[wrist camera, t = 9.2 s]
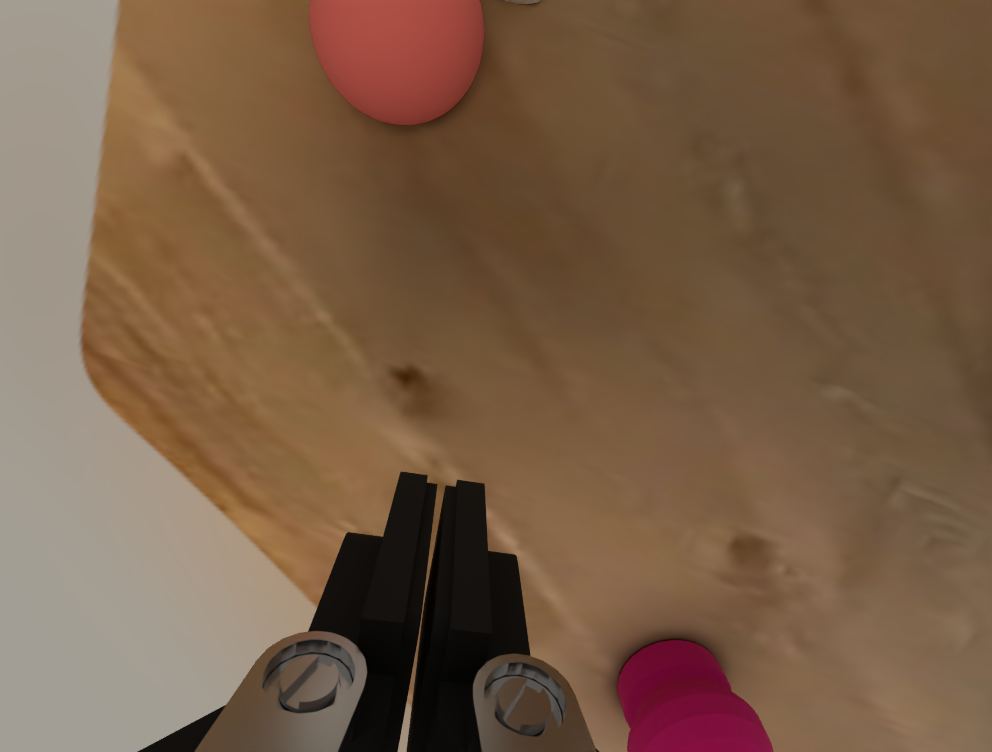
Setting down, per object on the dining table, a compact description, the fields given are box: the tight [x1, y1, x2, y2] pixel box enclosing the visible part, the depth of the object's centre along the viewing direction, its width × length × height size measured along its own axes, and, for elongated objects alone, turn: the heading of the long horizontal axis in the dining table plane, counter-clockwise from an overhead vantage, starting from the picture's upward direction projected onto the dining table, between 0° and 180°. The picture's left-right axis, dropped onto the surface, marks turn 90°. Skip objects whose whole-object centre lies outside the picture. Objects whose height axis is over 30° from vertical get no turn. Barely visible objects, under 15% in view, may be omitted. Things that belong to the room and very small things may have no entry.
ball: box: [309, 0, 484, 125], centre depth 19 cm, size 6×6×6 cm
